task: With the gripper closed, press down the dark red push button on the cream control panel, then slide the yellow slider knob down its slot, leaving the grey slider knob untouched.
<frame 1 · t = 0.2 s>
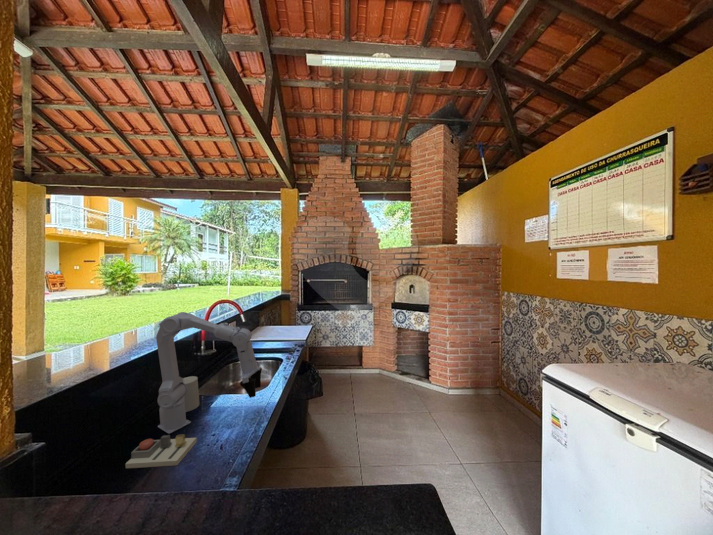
hand: (255, 391, 110), 10 cm above the countertop, tool pointing down, fingers open, 7 cm apart
yellow slider knob: (180, 440, 93), point 3 cm above the countertop, slide at 0.0 cm
cup: (188, 407, 121), on the countertop
red button: (146, 445, 91), point 4 cm above the countertop, slide at 0.0 cm
grey slider knob: (165, 441, 93), point 3 cm above the countertop, slide at 0.0 cm
panel: (163, 454, 92), on the countertop
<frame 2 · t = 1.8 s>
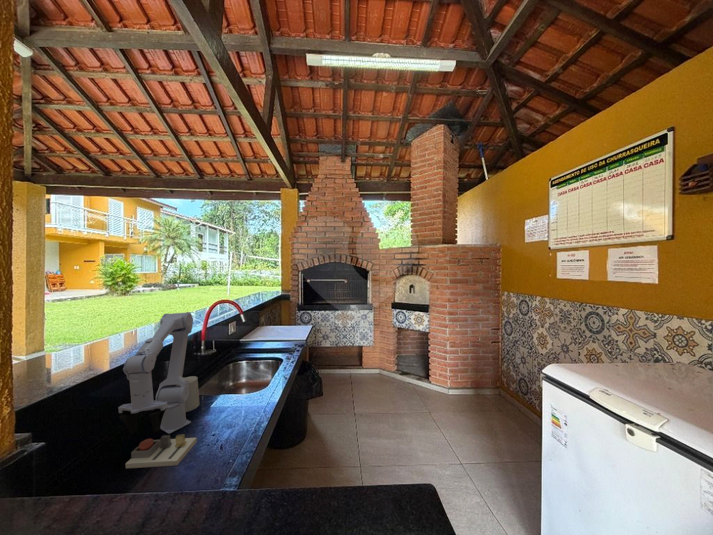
hand: (145, 431, 91), 8 cm above the countertop, tool pointing down, fingers open, 7 cm apart
nothing on the countertop moved.
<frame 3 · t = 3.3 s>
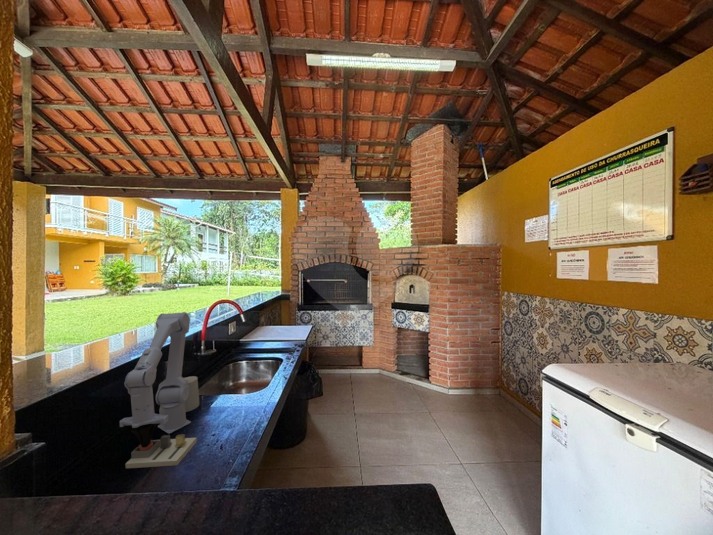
hand: (146, 445, 91), 4 cm above the countertop, tool pointing down, fingers closed, pressing on red button
red button: (146, 448, 91), point 3 cm above the countertop, slide at 1.0 cm, touching gripper
everything else where it was.
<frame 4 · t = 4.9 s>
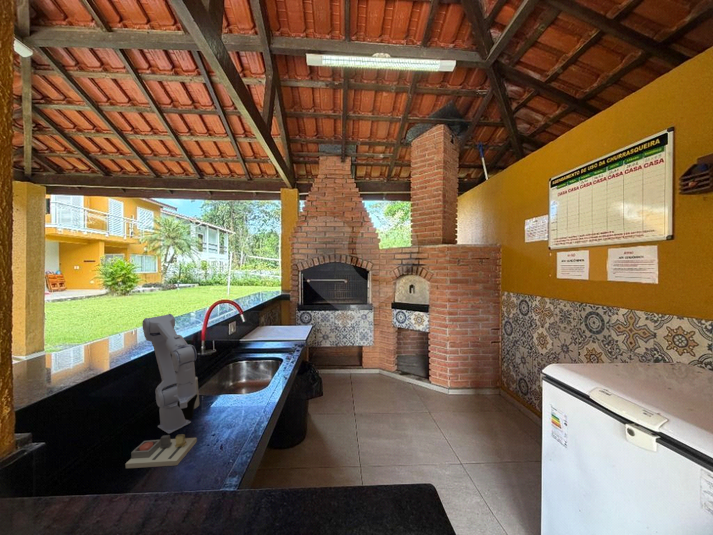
hand: (189, 418, 98), 8 cm above the countertop, tool pointing down, fingers closed
red button: (146, 448, 91), point 3 cm above the countertop, slide at 1.1 cm
everything else where it was.
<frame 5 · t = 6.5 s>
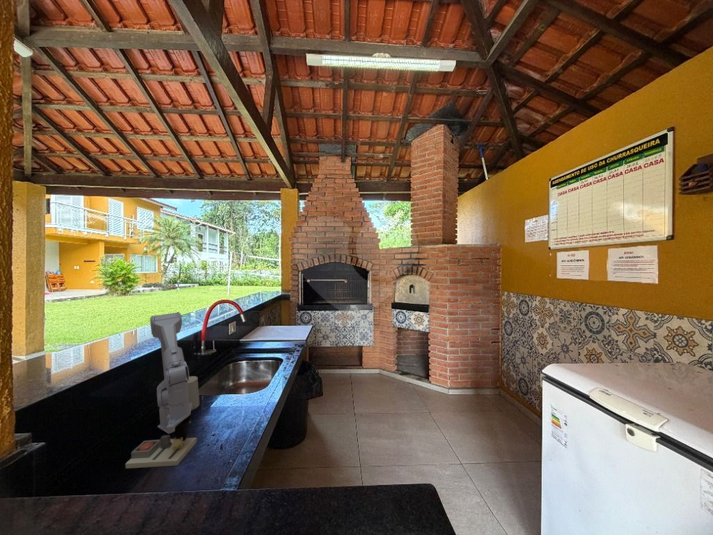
hand: (182, 440, 94), 3 cm above the countertop, tool pointing down, fingers closed
yellow slider knob: (178, 442, 92), point 3 cm above the countertop, slide at 1.3 cm, touching gripper
everything else where it was.
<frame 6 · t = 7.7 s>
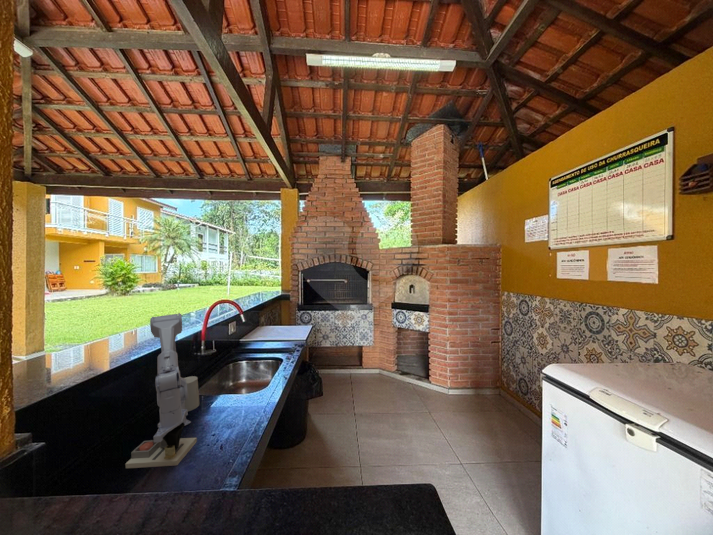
hand: (174, 449, 90), 3 cm above the countertop, tool pointing down, fingers closed
yellow slider knob: (170, 451, 88), point 3 cm above the countertop, slide at 5.4 cm, touching gripper
everything else where it was.
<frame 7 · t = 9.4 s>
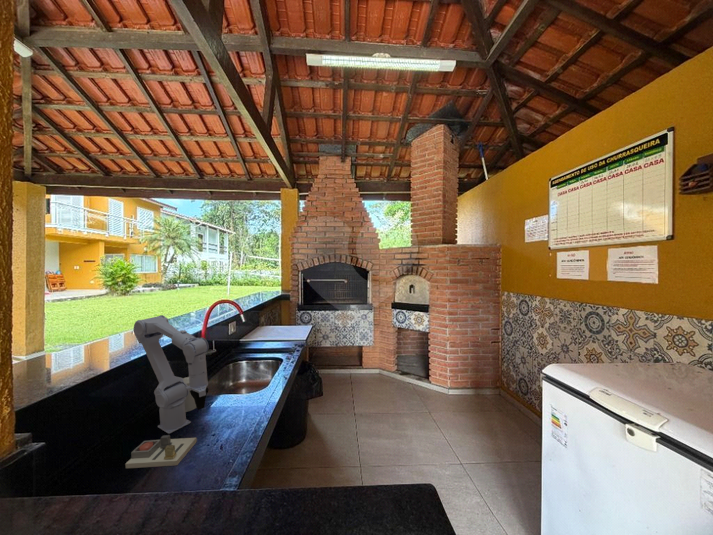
hand: (200, 408, 102), 9 cm above the countertop, tool pointing down, fingers closed
yellow slider knob: (170, 451, 88), point 3 cm above the countertop, slide at 5.4 cm
everything else where it was.
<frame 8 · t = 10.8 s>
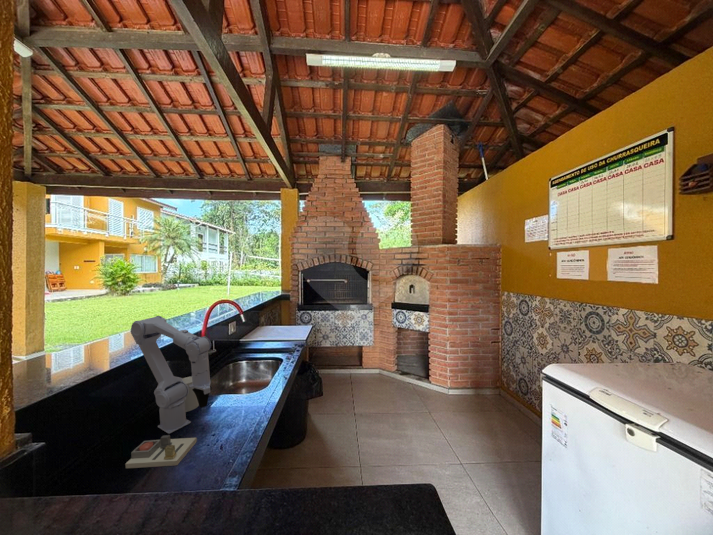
hand: (203, 406, 103), 9 cm above the countertop, tool pointing down, fingers closed
nothing on the countertop moved.
at the end: red button slide at 1.1 cm; yellow slider knob slide at 5.4 cm; grey slider knob slide at 0.0 cm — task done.
